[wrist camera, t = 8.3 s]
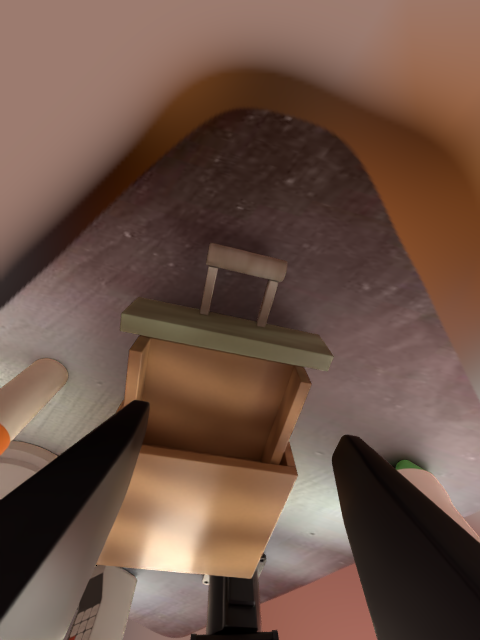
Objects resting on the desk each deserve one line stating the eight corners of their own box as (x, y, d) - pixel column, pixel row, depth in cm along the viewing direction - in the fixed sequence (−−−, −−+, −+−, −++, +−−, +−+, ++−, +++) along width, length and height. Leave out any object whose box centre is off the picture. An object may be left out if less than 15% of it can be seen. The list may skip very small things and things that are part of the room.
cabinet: (123, 399, 23) (96, 446, 18) (285, 425, 24) (298, 475, 20) (112, 506, 28) (89, 564, 23) (247, 522, 29) (251, 579, 25)
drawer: (146, 225, 17) (127, 229, 14) (342, 273, 18) (364, 285, 15) (124, 435, 23) (108, 469, 20) (270, 457, 25) (276, 492, 22)
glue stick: (69, 391, 22) (-19, 492, 14) (30, 385, 22) (-82, 484, 14) (70, 360, 21) (-25, 451, 13) (29, 353, 21) (-94, 441, 13)
